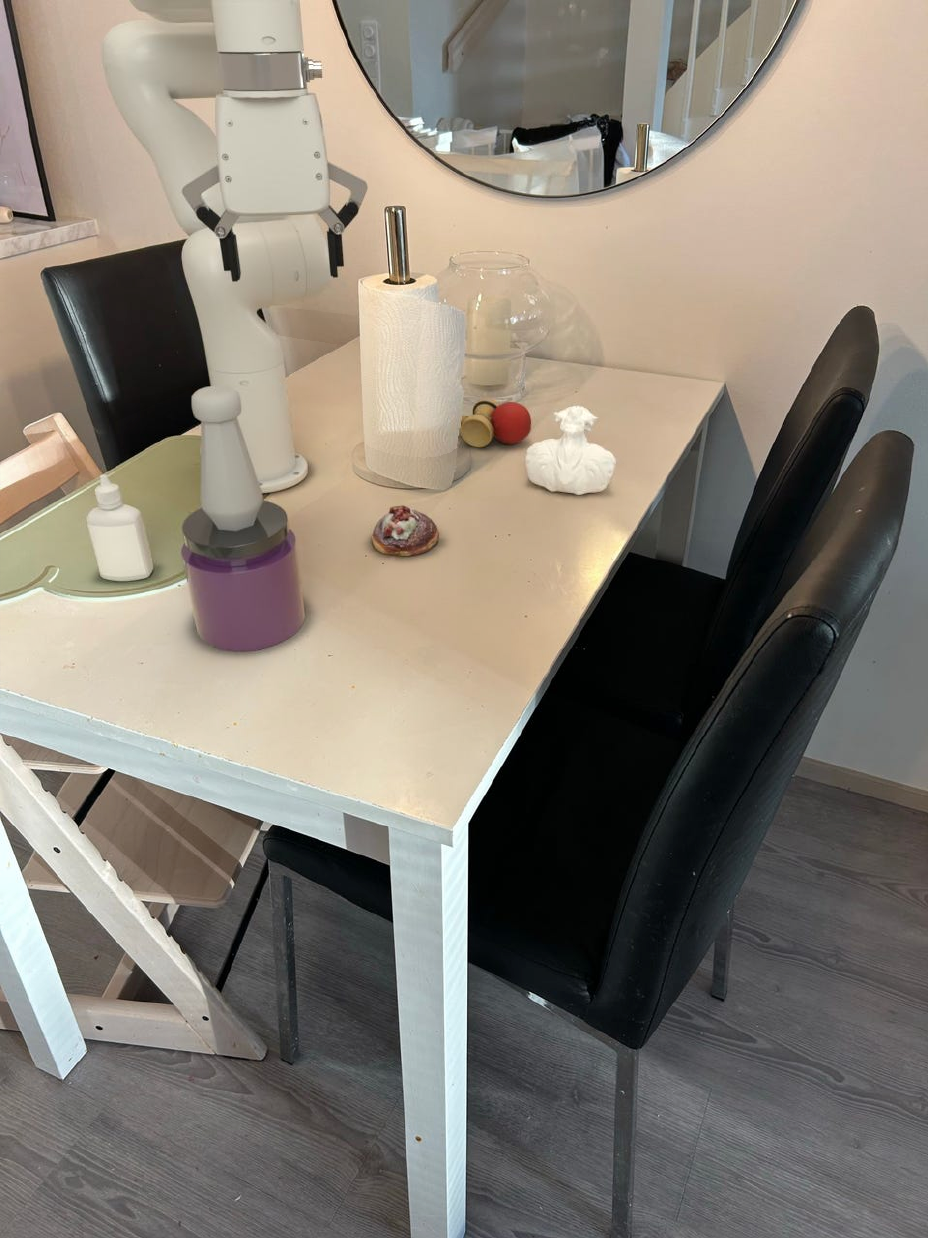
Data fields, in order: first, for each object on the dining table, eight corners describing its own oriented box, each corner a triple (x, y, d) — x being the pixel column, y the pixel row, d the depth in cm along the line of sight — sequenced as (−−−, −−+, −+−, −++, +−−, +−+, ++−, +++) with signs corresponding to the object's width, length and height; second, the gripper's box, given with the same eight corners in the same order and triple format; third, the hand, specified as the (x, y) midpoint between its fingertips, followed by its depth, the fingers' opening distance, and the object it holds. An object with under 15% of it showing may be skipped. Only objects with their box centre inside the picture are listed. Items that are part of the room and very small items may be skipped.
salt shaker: (251, 538, 83) (231, 403, 76) (194, 532, 84) (168, 399, 77) (274, 510, 88) (257, 381, 81) (220, 505, 89) (198, 377, 82)
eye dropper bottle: (132, 589, 98) (107, 489, 91) (94, 577, 100) (67, 478, 93) (160, 571, 101) (138, 473, 94) (123, 559, 103) (99, 463, 96)
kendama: (406, 451, 132) (525, 448, 126) (401, 408, 129) (522, 403, 124) (423, 441, 138) (537, 437, 133) (419, 399, 136) (535, 394, 131)
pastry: (374, 559, 103) (371, 521, 100) (369, 529, 109) (366, 491, 106) (443, 554, 104) (442, 515, 101) (434, 524, 110) (433, 487, 107)
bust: (612, 505, 119) (627, 422, 120) (608, 492, 112) (623, 404, 112) (525, 493, 122) (539, 413, 123) (515, 480, 115) (530, 394, 115)
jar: (174, 637, 90) (151, 537, 84) (235, 584, 99) (219, 489, 92) (269, 661, 87) (253, 558, 80) (324, 603, 95) (313, 506, 89)
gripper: (358, 73, 84) (369, 264, 94) (169, 75, 82) (200, 271, 92) (363, 77, 78) (374, 282, 88) (158, 80, 76) (193, 289, 85)
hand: (285, 276), depth 90 cm, fingers open, 9 cm apart
